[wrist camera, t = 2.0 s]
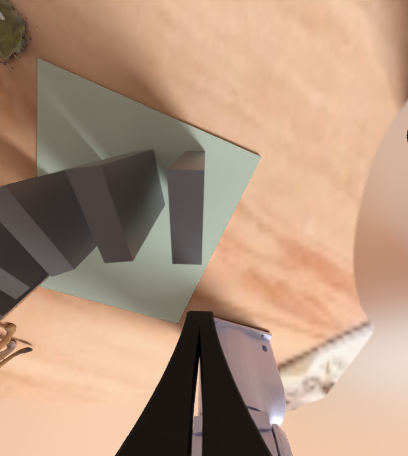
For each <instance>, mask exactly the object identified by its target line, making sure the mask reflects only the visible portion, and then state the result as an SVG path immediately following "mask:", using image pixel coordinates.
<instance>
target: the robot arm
mask: <svg viewBox="0 0 408 456" xmlns="http://www.w3.org/2000/svg"><path fill="white" fill-rule="evenodd" d="M271 338H272V335H271V334H270V333H268V332H264V331H261V330H257V329H254V328H250V327H247V326H243V325H240V324H236V323H232V322H229V321H225V320H222V319H218V318H215V317H214V316H213V313H212V312H210V311H189V312H187V316H186V320H185V323H184V327H183V330H182V332H181V335H180V338H179V340H178V343H177V345H176V348H175V350H174V352H173V355H172V357H171V359H170V361H169V363H168V365H167V368H166V370H165V372H164V374H163V376H162V378H161V380H160V382H159V384H158V385H157V387H156V389H155V391H154V393H153V395H152V397H151V398H150V400H149V402H148V404H147V405H146V407H145V409H144V411H143V412H142V414H141V416H140V417H139V419H138V420H137V422H136V424H135V425H134V427H133V429H132V430H131V432H130V433H129V435H128V436H127V438H126V440H125V441H124V443H123V444H122V446H121V447H120V449H119V450H118V452H117V454H116V455H115V456H293V455H292V452H291V449H290V446H289V443H288V439H287V437H286V434H285V433H284V432H283V430H281V428H279V427H280V425H281V424H282V422H283V419H284V415H285V393H284V388H283V384H282V381H281V378H280V375H279V371H278V368H277V365H276V361H275V358H274V355H273V351H272V348H271V345H270V341H269V340H270V339H271ZM199 357H200V362H199ZM198 365H199V396H198V416H194V420H193V413H194V403H195V393H196V384H197V374H198Z"/></svg>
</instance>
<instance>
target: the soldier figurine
mask: <svg viewBox="0 0 408 456" xmlns="http://www.w3.org/2000/svg"><path fill="white" fill-rule="evenodd" d="M10 3H11V0H10V1H7V0H0V58H1V56H2V57H3V60H5V59H6V58H7V60H9V57H10V56H11V54H12V53H13V54H14V52H16V54H17V51H18V53H20V54H21V48H22V45H23V46H26V45H27V44H26V42H27V40H26V41H24V39H22V36H23V37H24V38H25V35H24V33H25V31H24V30H25V23H24V22H23V17H22V15H18V13H17V10H15V11H14V10H13V9H12V7H11V5H12V3H11V5H10ZM12 6H13V7H15V5H12ZM25 18H26V17H25ZM26 19H27V18H26ZM26 28H27V27H26ZM22 31H23V32H22ZM27 37H28V36H27ZM22 40H23V41H22ZM29 40H31V37H30V39H29ZM20 47H21V48H20ZM22 49H23V48H22ZM16 50H17V51H16ZM23 50H24V49H23ZM13 51H14V52H13ZM14 56H15V58H16V59H17V57H16V55H14ZM20 57H21V56H20ZM20 57H19V58H20ZM13 60H14V59H13ZM0 63H3V62H2V61H1V62H0ZM8 63H9V62H8ZM3 64H4V65H6V64H7V63H6V62H4V63H3ZM11 68H12V69H13V67H11Z"/></svg>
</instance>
